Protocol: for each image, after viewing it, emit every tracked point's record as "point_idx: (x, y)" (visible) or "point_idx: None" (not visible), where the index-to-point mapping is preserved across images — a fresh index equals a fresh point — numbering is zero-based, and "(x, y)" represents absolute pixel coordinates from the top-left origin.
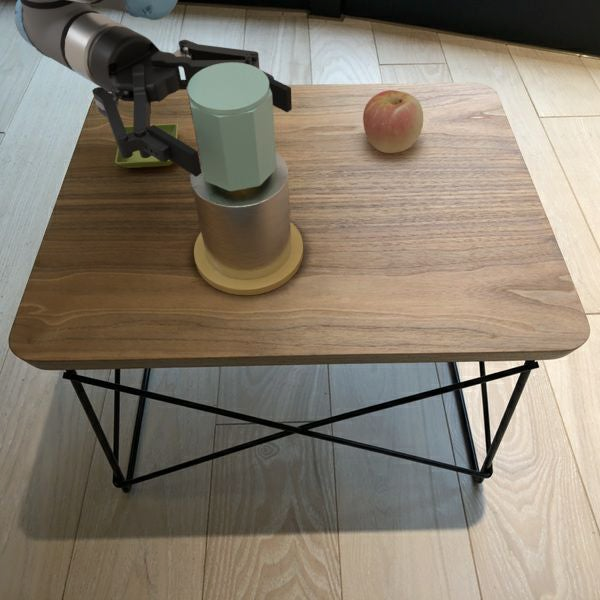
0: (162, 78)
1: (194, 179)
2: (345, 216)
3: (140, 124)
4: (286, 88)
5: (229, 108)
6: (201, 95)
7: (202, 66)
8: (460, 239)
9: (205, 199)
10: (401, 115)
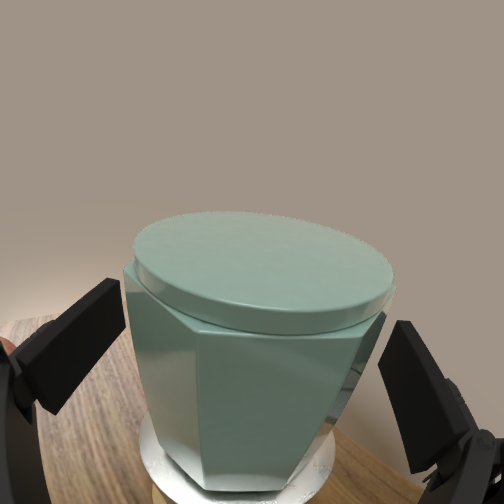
0: None
1: (311, 487)
2: (120, 423)
3: (478, 459)
4: (110, 281)
5: (333, 229)
6: (362, 260)
7: (13, 497)
8: (125, 340)
9: (334, 439)
10: (7, 345)
